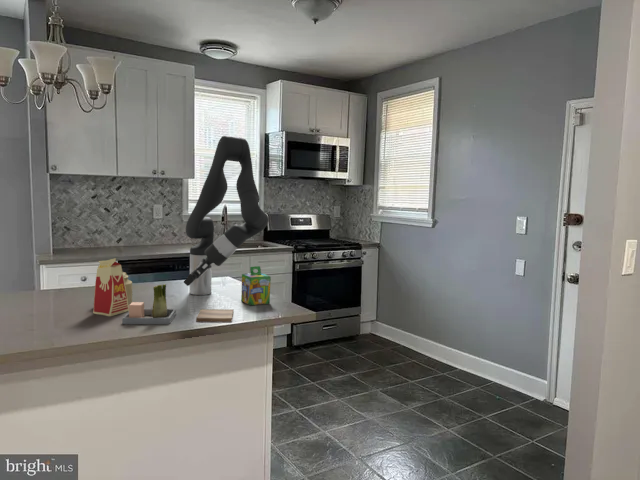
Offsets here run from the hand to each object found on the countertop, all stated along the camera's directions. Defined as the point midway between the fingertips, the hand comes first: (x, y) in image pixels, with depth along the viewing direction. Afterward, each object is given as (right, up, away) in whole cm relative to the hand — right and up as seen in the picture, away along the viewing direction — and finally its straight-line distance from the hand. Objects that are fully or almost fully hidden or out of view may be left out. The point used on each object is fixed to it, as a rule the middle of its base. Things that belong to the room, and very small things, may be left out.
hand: (187, 281), depth 164 cm
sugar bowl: (-33, -10, +19) cm, 40 cm away
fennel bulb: (-10, -13, 0) cm, 16 cm away
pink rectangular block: (-16, -13, -4) cm, 21 cm away
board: (+9, -13, +5) cm, 17 cm away
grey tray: (-13, -13, -1) cm, 18 cm away
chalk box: (+20, -11, +28) cm, 36 cm away
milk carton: (-30, -12, +6) cm, 32 cm away
